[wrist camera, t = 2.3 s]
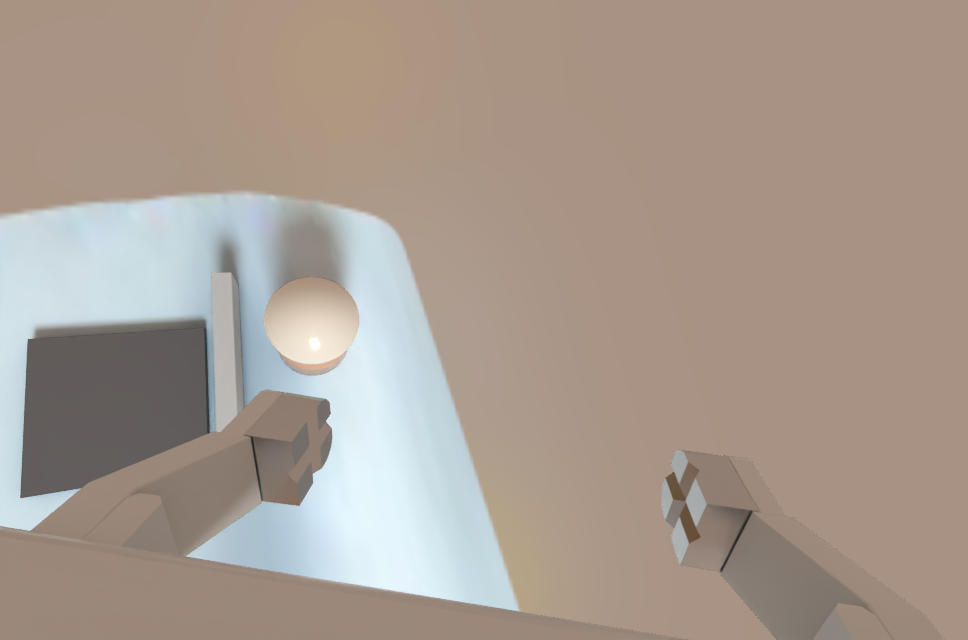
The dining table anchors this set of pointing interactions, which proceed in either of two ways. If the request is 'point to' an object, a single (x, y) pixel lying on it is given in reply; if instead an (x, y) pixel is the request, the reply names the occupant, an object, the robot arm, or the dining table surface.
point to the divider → (226, 349)
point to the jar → (311, 324)
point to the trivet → (109, 403)
